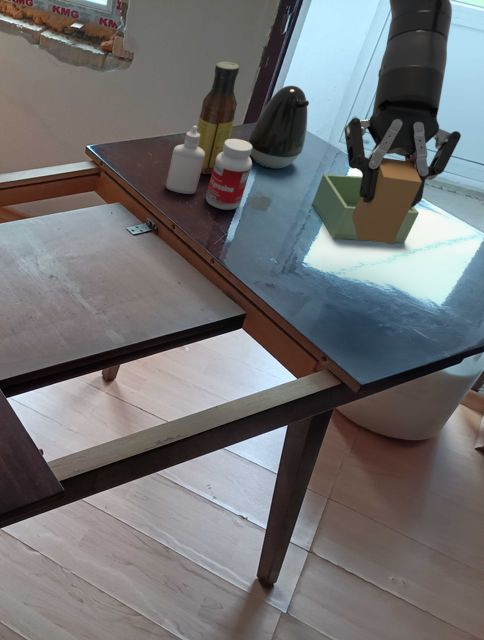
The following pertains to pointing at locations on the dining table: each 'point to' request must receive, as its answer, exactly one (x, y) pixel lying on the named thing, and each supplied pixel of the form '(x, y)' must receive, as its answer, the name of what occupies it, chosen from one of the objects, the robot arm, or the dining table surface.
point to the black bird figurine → (280, 129)
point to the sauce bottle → (217, 114)
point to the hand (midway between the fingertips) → (389, 203)
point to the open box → (347, 207)
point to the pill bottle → (230, 175)
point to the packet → (387, 202)
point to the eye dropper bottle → (186, 165)
